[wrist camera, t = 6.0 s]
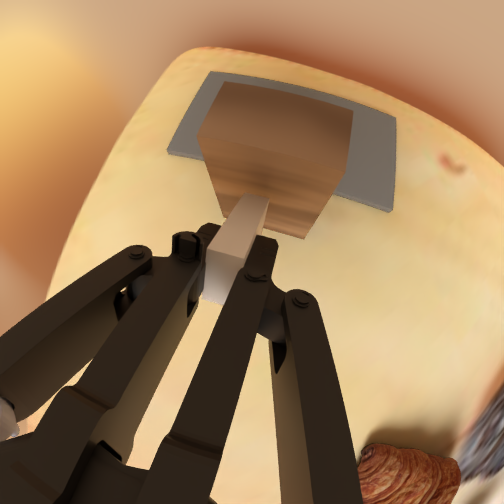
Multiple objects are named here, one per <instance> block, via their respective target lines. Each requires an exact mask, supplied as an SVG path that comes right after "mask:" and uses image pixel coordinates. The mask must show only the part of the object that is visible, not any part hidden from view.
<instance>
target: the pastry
mask: <svg viewBox="0 0 504 504" xmlns="http://www.w3.org/2000/svg"><path fill="white" fill-rule="evenodd" d="M361 454H362V458H361V463H360V464H359V467H358V468H357V469H358V475H359V480H360V486H361V492H362V498H363V504H451V502H452V500H453V498H454V496H455V495H456V493H457V491H458V488H459V486H460V481H461V472H460V469H459V467H458V465H457V462H456V460H454V459H453V458H445V459H444V458H442V457H439V456H435V455H430V454H426V453H424V452H422V451H420V450H418V449H412V448H410V449H403V448H399V449H396V448H395V447H394V446H392V445H386V444H379V443H377V444H371V445H368V446H366V447H365V448H364V449H363V450H362V451H361Z"/></svg>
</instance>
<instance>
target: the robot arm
mask: <svg viewBox="0 0 504 504" xmlns="http://www.w3.org/2000/svg"><path fill="white" fill-rule="evenodd" d="M269 199H270V198H266V197H262V196H258V195H254V194H250V193H246V192H245V193H244V194H243V196H242V197H241V199H240V200H239V202H238V203H237V204H236V206H235V207H234V209H233V210H232V212H231V213H230V215H229V216H228V218H227V219H226V220H225V222H224V223H223V225H222V226H220V225H216V224H212V223H207V224H205V225H203V226H201V227H200V228H199V230H198V231H197V232H196V233H194V232H189V231H185V232H179V233H176V234H174V235H173V236H172V253H171V255H170V256H169V257H156V256H152V251H151V249H149V248H148V247H146V246H143V245H133V246H129V247H127V248H125V249H124V250H122V251H120V252H119V253H117V254H116V255H114V256H112V257H111V258H109V259H108V260H106V261H105V262H103V263H102V264H100V265H98V266H97V267H95V268H94V269H92V270H91V271H89V272H88V273H86V274H85V275H83V276H82V277H80V278H79V279H77V280H76V281H74V282H73V283H72V284H70V285H69V286H67V287H66V288H64V289H63V290H61V291H60V292H59V293H57V294H56V295H54V296H53V297H52V298H50V299H49V300H48V301H46V302H45V303H43V304H42V305H41V306H39V307H38V308H37V309H35V310H34V311H33V312H31V313H30V314H29V315H28V316H26V317H25V318H23V319H22V320H21V321H20V322H18V323H17V324H16V325H15V326H13V327H12V328H11V329H10V330H8V331H7V332H6V333H4V334H3V335H2V336H1V337H0V504H217V503H216V502H215V501H214V500H213V499H212V498H211V497H209V496H210V493H211V490H212V487H213V484H214V481H215V477H216V474H217V471H218V468H219V465H220V461H221V458H222V454H223V449H224V446H225V443H226V439H227V436H228V433H229V429H230V426H231V423H232V419H233V416H234V412H235V409H236V406H237V402H238V399H239V395H240V392H241V388H242V385H243V381H244V378H245V374H246V371H247V367H248V363H249V360H250V356H251V352H252V349H253V345H254V341H255V338H256V334H257V333H259V334H260V335H262V336H264V337H266V338H267V339H269V354H270V365H271V377H272V389H273V401H274V413H275V425H276V438H277V450H278V463H279V477H280V490H281V504H363V498H362V492H361V486H360V480H359V475H358V469H357V464H356V458H355V453H354V448H353V443H352V438H351V433H350V429H349V424H348V419H347V415H346V410H345V406H344V402H343V397H342V393H341V389H340V385H339V380H338V376H337V372H336V368H335V364H334V360H333V357H332V353H331V349H330V345H329V341H328V338H327V334H326V330H325V327H324V323H323V319H322V316H321V312H320V309H319V305H318V302H317V300H316V298H315V297H314V296H313V295H312V294H310V293H308V292H306V291H304V290H300V289H293V290H290V291H288V292H287V293H286V292H284V291H282V290H280V289H279V288H277V287H276V286H275V285H274V283H273V282H272V279H271V275H272V271H273V267H274V263H275V259H276V255H277V251H278V243H277V241H276V240H275V239H272V238H268V237H264V236H261V233H262V229H263V225H264V221H265V216H266V212H267V208H268V203H269ZM125 287H126V289H125V290H124V291H122V292H120V291H121V290H122V289H123V288H125ZM201 293H202V299H204V300H207V301H210V302H214V303H217V304H220V305H224V306H223V308H222V310H221V313H220V315H219V317H218V320H217V322H216V324H215V327H214V329H213V331H212V334H211V336H210V338H209V341H208V343H207V345H206V348H205V350H204V352H203V355H202V357H201V360H200V362H199V364H198V367H197V369H196V371H195V374H194V376H193V378H192V381H191V383H190V386H189V388H188V390H187V393H186V395H185V397H184V400H183V402H182V405H181V407H180V409H179V412H178V414H177V416H176V419H175V421H174V424H173V426H172V428H171V430H170V432H169V433H168V434H167V435H166V436H165V437H164V439H163V440H162V442H161V444H160V446H159V448H158V451H157V453H156V455H155V458H154V460H153V462H152V465H151V467H150V469H149V470H145V469H140V468H135V467H131V466H127V465H126V463H127V461H128V458H129V456H130V454H131V451H132V448H133V441H134V435H135V433H136V431H137V429H138V426H139V424H140V422H141V420H142V418H143V416H144V414H145V412H146V410H147V407H148V405H149V403H150V401H151V399H152V397H153V395H154V393H155V391H156V389H157V387H158V385H159V383H160V381H161V379H162V377H163V375H164V373H165V371H166V369H167V366H168V364H169V362H170V360H171V358H172V356H173V354H174V352H175V350H176V348H177V346H178V344H179V342H180V340H181V339H182V337H183V335H184V333H185V331H186V329H187V327H188V325H189V323H190V321H191V319H192V317H193V315H194V313H195V311H196V309H197V307H198V303H199V296H200V295H201ZM92 359H93V360H92ZM91 360H92V361H91ZM89 361H91V363H90V364H89V366H88V367H87V369H86V370H85V372H84V373H83V375H82V376H81V378H80V379H79V381H78V382H77V383H76V384H75V385H73V386H65V387H63V388H62V389H61V390H60V391H59V392H58V393H57V394H56V396H55V398H54V399H53V401H52V402H51V404H50V406H49V407H48V409H47V410H46V412H45V414H44V415H43V417H42V419H41V420H40V422H39V424H38V426H37V427H36V429H35V431H34V432H31V433H28V434H24V435H22V436H18V437H16V436H17V435H18V434H19V431H20V430H19V426H18V424H17V422H19V421H21V420H24V419H25V418H27V417H29V416H30V415H32V414H33V413H34V412H36V411H37V410H38V409H39V408H40V407H41V406H42V405H44V404H45V403H46V402H47V401H48V400H49V399H50V398H51V397H52V396H53V395H54V394H55V393H56V392H57V391H58V390H59V389H60V388H61V387H62V386H64V385H65V384H66V383H67V382H68V381H69V380H70V379H71V378H72V377H73V376H74V375H75V374H76V373H77V372H79V371H80V370H81V369H82V368H83V367H84V366H85V365H86V364H87V363H88V362H89ZM10 436H12V437H15V438H11V439H8V440H6V439H7V438H8V437H10Z"/></svg>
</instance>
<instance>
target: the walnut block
mask: <svg viewBox="0 0 504 504" xmlns="http://www.w3.org/2000/svg"><path fill="white" fill-rule="evenodd" d="M353 112H354V111H353V110H350V109H347V108H344V107H340V106H337V105H334V104H331V103H327V102H324V101H320V100H317V99H313V98H309V97H305V96H301V95H297V94H293V93H289V92H284V91H280V90H275V89H270V88H265V87H259V86H254V85H248V84H241V83H234V82H227V81H224V83H223V85H222V87H221V88H220V90H219V92H218V94H217V96H216V98H215V99H214V101H213V103H212V105H211V107H210V109H209V111H208V113H207V115H206V117H205V119H204V121H203V123H202V125H201V127H200V129H199V131H198V133H197V135H196V137H197V140H198V143H199V146H200V149H201V152H202V155H203V158H204V161H205V164H206V166H207V169H208V172H209V175H210V178H211V181H212V184H213V187H214V190H215V193H216V196H217V199H218V202H219V205H220V208H221V210H222V213H223V216H224V217H225V218H228V216H229V215H230V213H231V212H232V210H233V209H234V207H235V206H236V204H237V203H238V202H239V200H240V199H241V197H242V196H243V194H244V193H245V192H246V193H250V194H254V195H258V196H262V197H266V198H270V199H269V203H268V208H267V212H266V216H265V221H264V225H263V228H265V229H269V230H273V231H276V232H280V233H283V234H287V235H290V236H294V237H297V238H301V239H304V238H305V236H306V235H307V233H308V232H309V230H310V229H311V227H312V225H313V224H314V222H315V221H316V219H317V218H318V216H319V214H320V213H321V211H322V210H323V208H324V206H325V205H326V203H327V202H328V200H329V198H330V197H331V195H332V193H333V192H334V190H335V189H336V187H337V185H338V184H339V182H340V180H341V179H342V177H343V175H344V174H345V172H346V165H347V159H348V152H349V145H350V137H351V129H352V121H353Z"/></svg>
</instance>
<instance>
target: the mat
mask: <svg viewBox="0 0 504 504" xmlns="http://www.w3.org/2000/svg"><path fill="white" fill-rule="evenodd" d="M224 81H227V82H234V83H241V84H248V85H254V86H259V87H265V88H270V89H275V90H280V91H284V92H289V93H293V94H297V95H301V96H305V97H309V98H313V99H317V100H320V101H324V102H327V103H331V104H334V105H337V106H340V107H344V108H347V109H350V110H353V111H354V112H353V121H352V129H351V137H350V145H349V152H348V159H347V165H346V172H345V174H344V175H343V177H342V179H341V180H340V182H339V184H338V185H337V187H336V189H335V190H334V192H333V193H332V194H335V195H338V196H342V197H345V198H348V199H351V200H354V201H357V202H360V203H363V204H366V205H369V206H372V207H375V208H377V209H380V210H383V211H386V212H391V211H392V210H393V201H394V188H395V171H396V118H395V117H393V116H390V115H388V114H386V113H383V112H380V111H378V110H375V109H373V108H370V107H367V106H364V105H362V104H359V103H356V102H353V101H350V100H347V99H344V98H341V97H337V96H334V95H331V94H327V93H324V92H320V91H317V90H313V89H309V88H305V87H301V86H297V85H293V84H288V83H284V82H279V81H274V80H269V79H263V78H257V77H251V76H245V75H238V74H230V73H222V72H212V71H210V73H209V74H208V76H207V78H206V79H205V81H204V82H203V84H202V86H201V87H200V89H199V91H198V92H197V94H196V96H195V98H194V99H193V101H192V103H191V105H190V106H189V108H188V110H187V112H186V114H185V115H184V117H183V119H182V121H181V123H180V125H179V127H178V128H177V130H176V132H175V134H174V136H173V138H172V140H171V142H170V144H169V146H168V148H167V152H168V153H169V154H171V155H177V156H182V157H187V158H193V159H198V160H203V161H204V158H203V155H202V152H201V149H200V146H199V143H198V140H197V137H196V135H197V133H198V131H199V129H200V127H201V125H202V123H203V121H204V119H205V117H206V115H207V113H208V111H209V109H210V107H211V105H212V103H213V101H214V99H215V98H216V96H217V94H218V92H219V90H220V88H221V87H222V85H223V83H224Z"/></svg>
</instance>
